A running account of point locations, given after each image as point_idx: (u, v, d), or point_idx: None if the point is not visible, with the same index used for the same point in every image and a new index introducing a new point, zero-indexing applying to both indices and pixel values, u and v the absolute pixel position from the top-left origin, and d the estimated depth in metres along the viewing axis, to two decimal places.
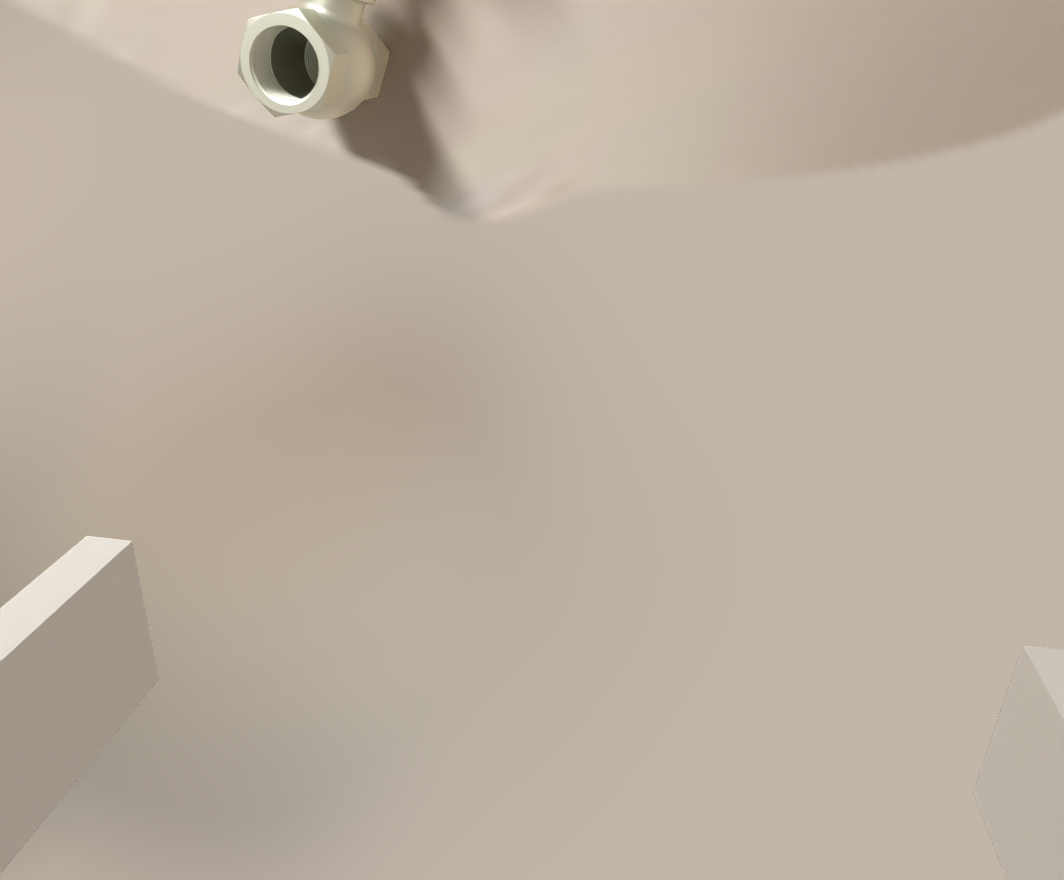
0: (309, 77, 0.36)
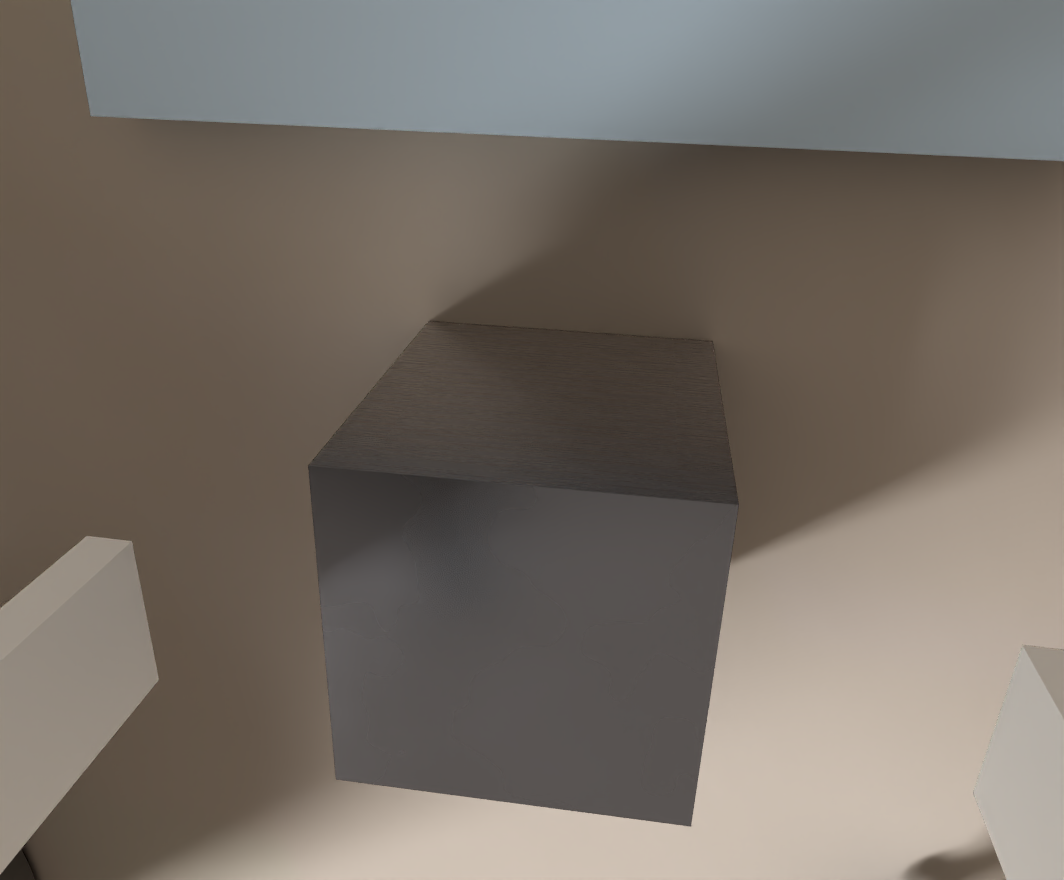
0: None
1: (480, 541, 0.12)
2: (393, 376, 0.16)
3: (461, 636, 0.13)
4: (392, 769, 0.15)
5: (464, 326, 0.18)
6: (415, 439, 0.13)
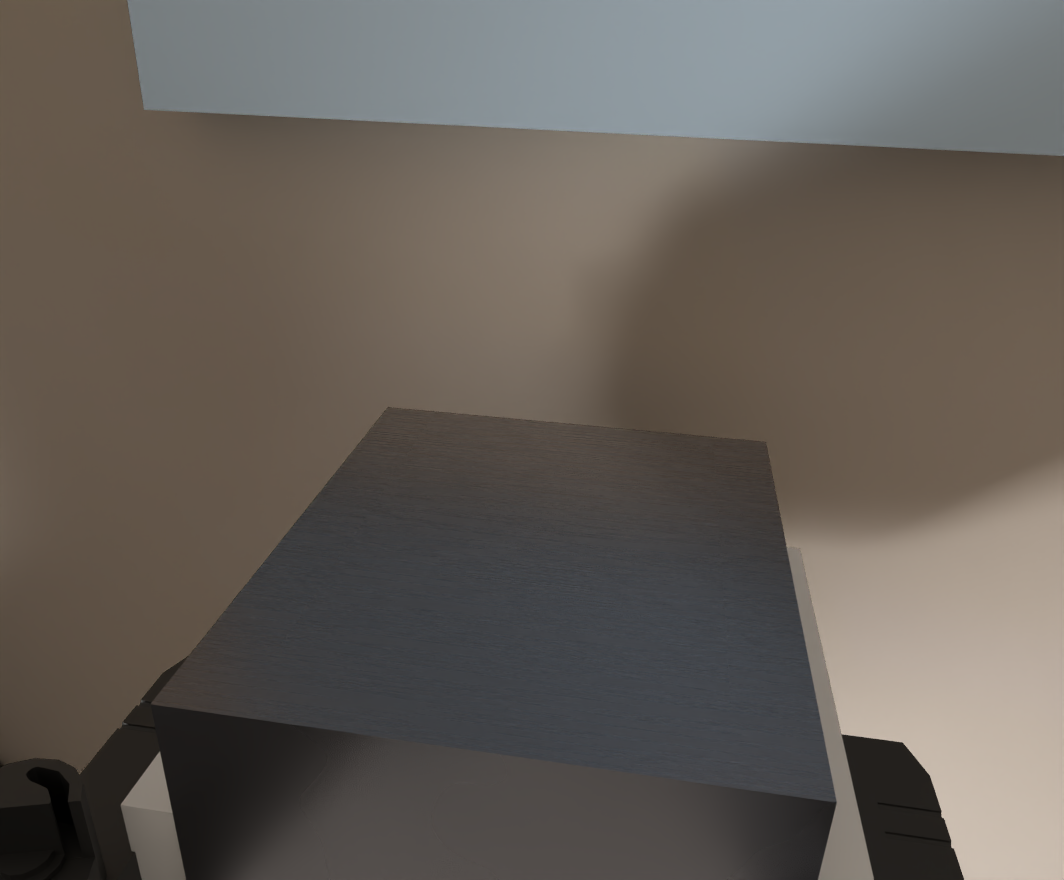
0: None
1: (420, 822, 0.08)
2: (321, 509, 0.11)
3: None
4: None
5: (434, 416, 0.14)
6: (330, 641, 0.09)
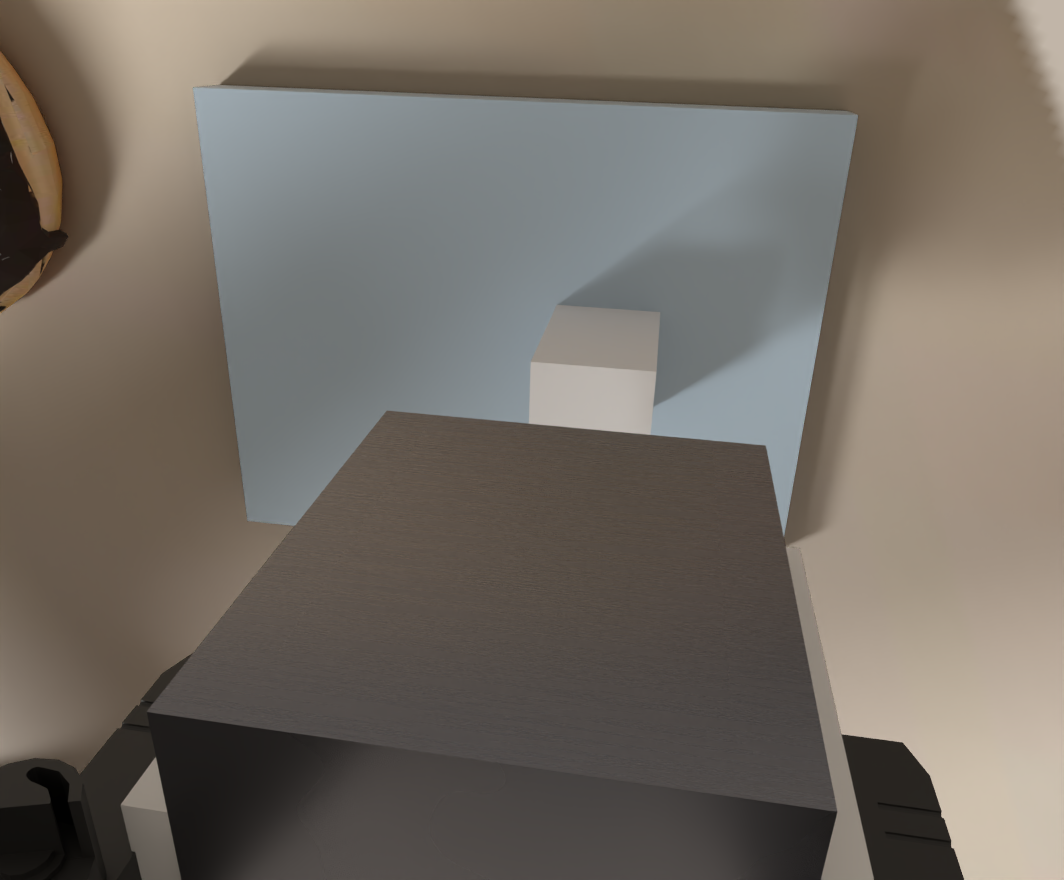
0: None
1: (418, 831, 0.08)
2: (320, 513, 0.11)
3: None
4: None
5: (433, 419, 0.14)
6: (327, 648, 0.09)
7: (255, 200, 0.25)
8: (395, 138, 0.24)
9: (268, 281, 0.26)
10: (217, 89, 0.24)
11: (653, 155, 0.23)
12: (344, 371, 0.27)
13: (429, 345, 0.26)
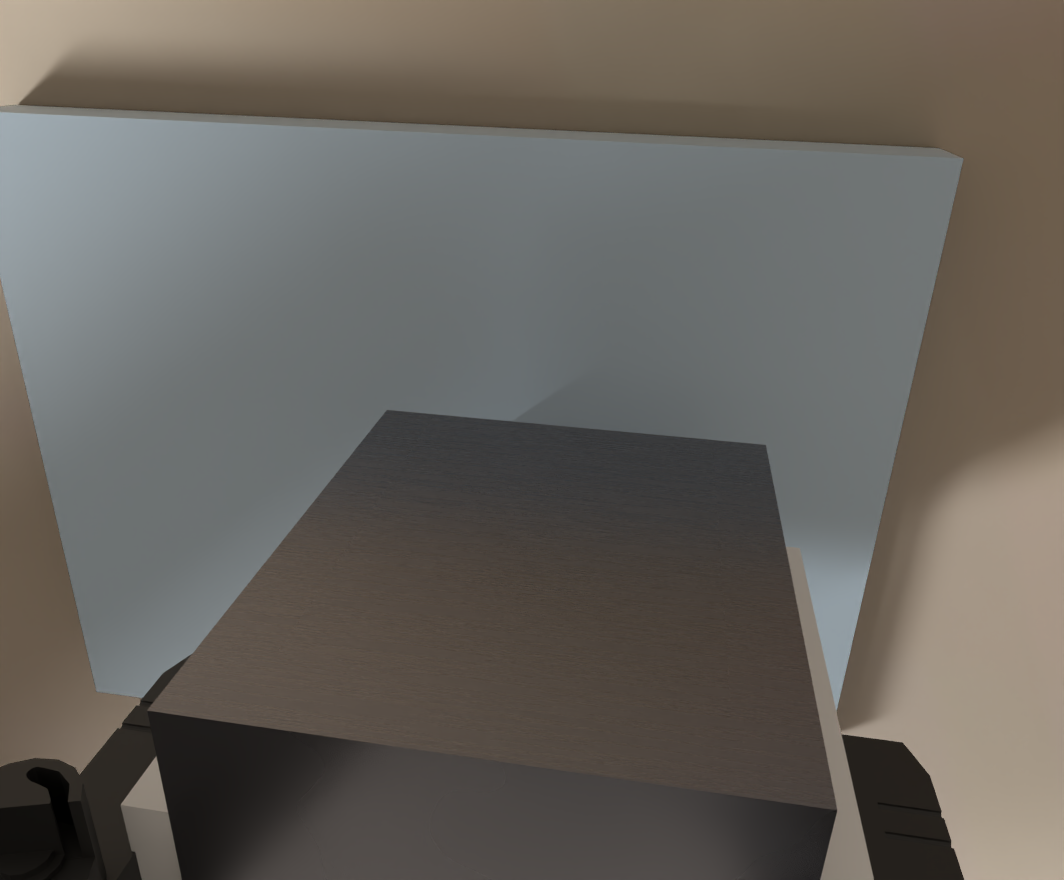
0: None
1: (418, 829, 0.08)
2: (320, 512, 0.11)
3: None
4: None
5: (433, 418, 0.14)
6: (327, 647, 0.09)
7: (66, 273, 0.17)
8: (259, 186, 0.16)
9: (95, 385, 0.18)
10: None
11: (644, 216, 0.15)
12: (210, 507, 0.19)
13: (326, 476, 0.19)
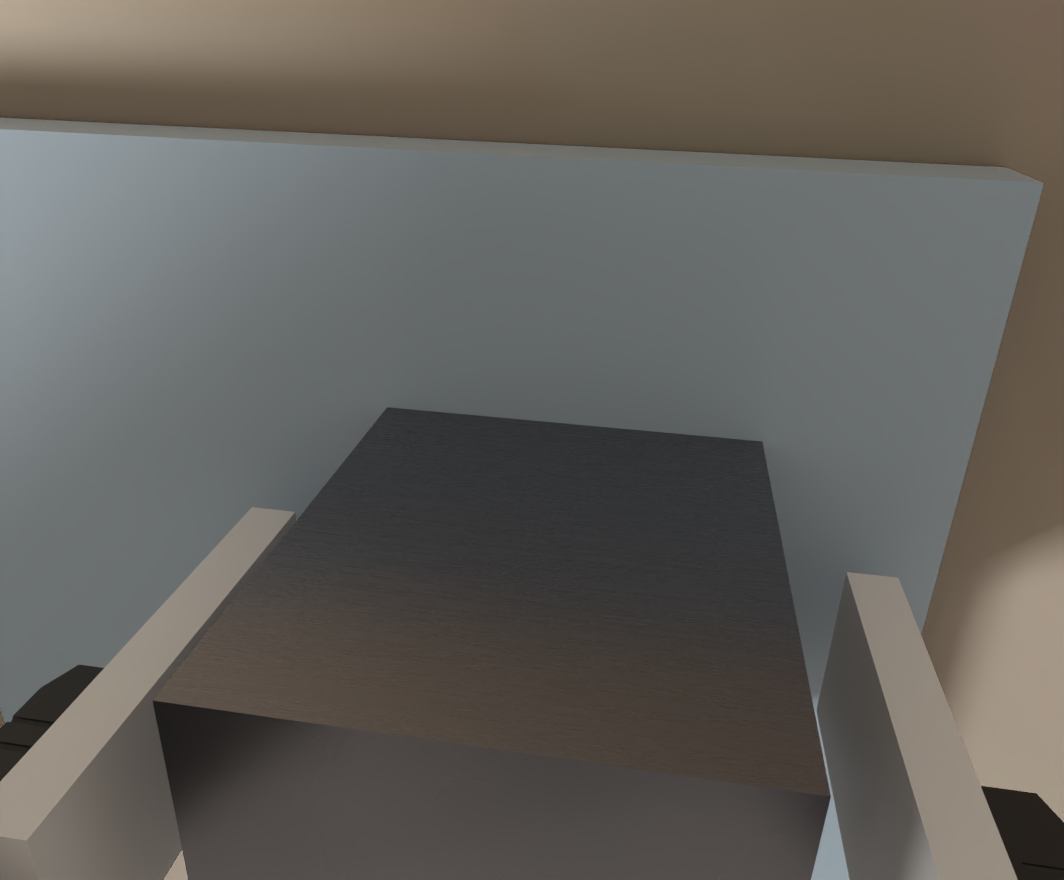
0: None
1: (419, 817, 0.08)
2: (321, 507, 0.11)
3: None
4: None
5: (433, 415, 0.14)
6: (329, 638, 0.09)
7: None
8: (180, 212, 0.13)
9: (0, 441, 0.16)
10: None
11: (645, 250, 0.12)
12: (139, 581, 0.17)
13: None
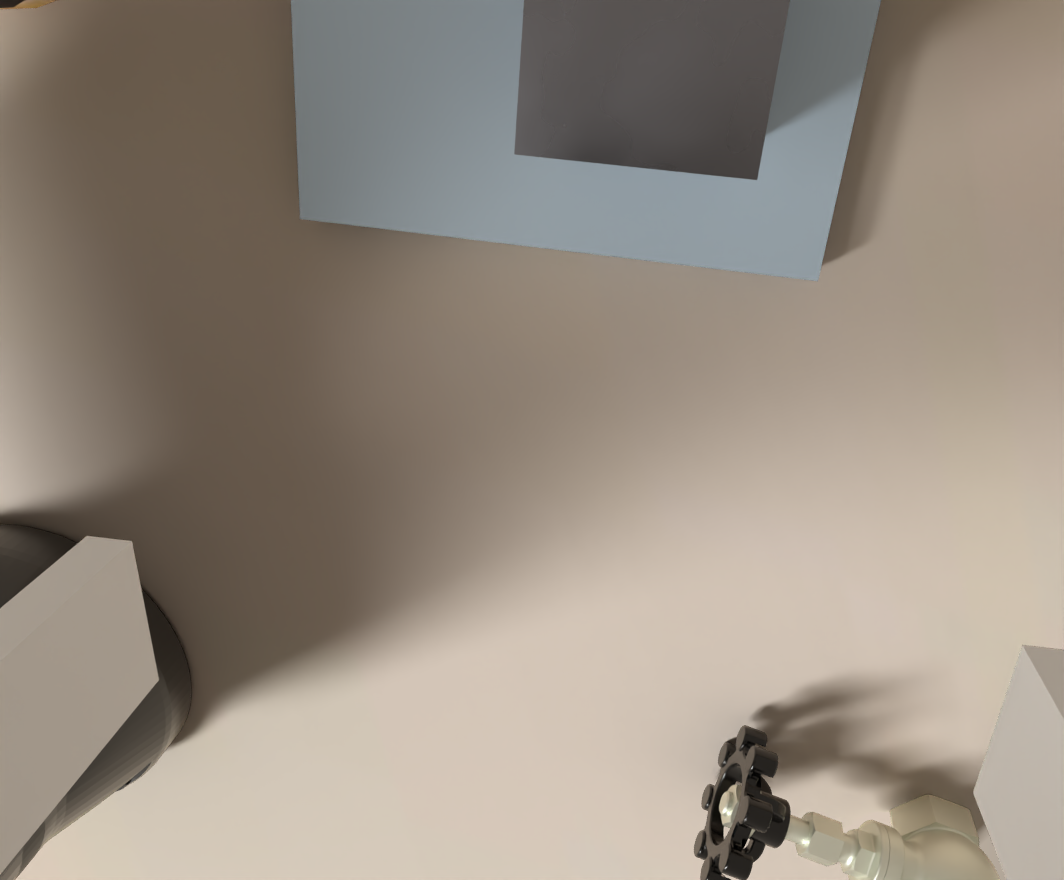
0: None
1: None
2: None
3: (617, 14, 0.20)
4: (555, 141, 0.21)
5: None
6: None
7: None
8: None
9: None
10: None
11: None
12: (407, 48, 0.28)
13: (493, 17, 0.27)
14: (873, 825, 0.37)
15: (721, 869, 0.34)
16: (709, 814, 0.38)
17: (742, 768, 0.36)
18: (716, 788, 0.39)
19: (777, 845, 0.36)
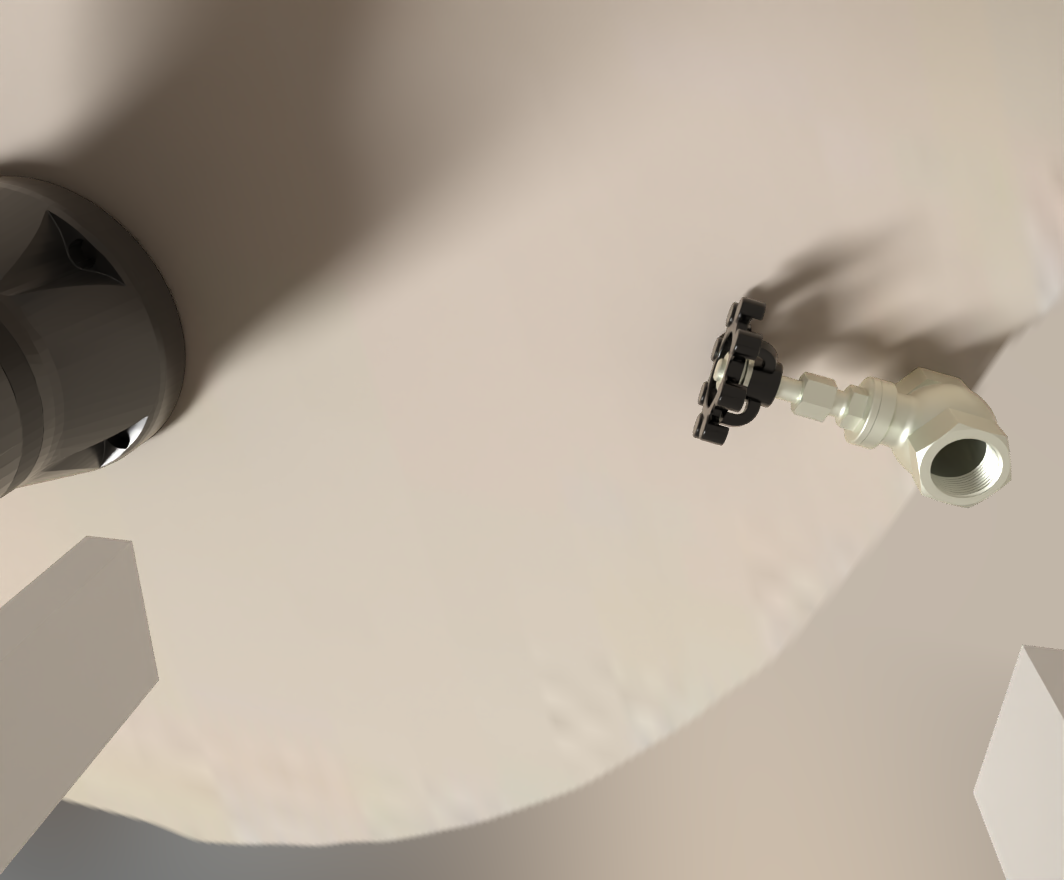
0: None
1: None
2: None
3: None
4: None
5: None
6: None
7: None
8: None
9: None
10: None
11: None
12: None
13: None
14: (865, 381, 0.37)
15: (717, 401, 0.35)
16: (705, 398, 0.39)
17: (732, 328, 0.37)
18: (710, 376, 0.39)
19: (772, 397, 0.36)
